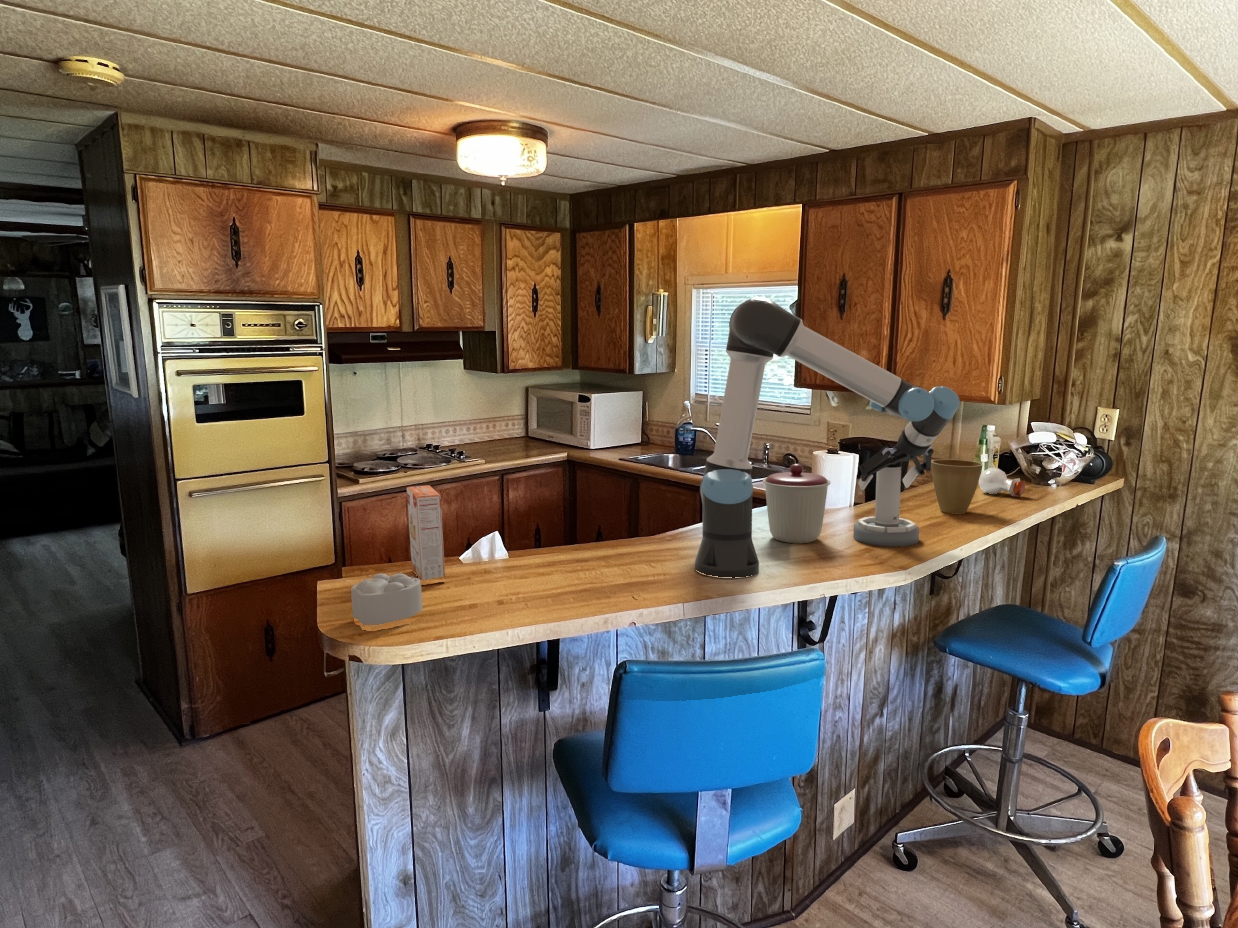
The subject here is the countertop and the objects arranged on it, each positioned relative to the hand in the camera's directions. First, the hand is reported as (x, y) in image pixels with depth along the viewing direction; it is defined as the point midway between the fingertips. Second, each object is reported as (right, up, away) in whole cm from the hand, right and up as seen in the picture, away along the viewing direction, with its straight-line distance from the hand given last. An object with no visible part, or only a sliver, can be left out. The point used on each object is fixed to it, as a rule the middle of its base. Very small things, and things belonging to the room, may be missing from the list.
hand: (883, 485), depth 211 cm
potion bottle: (+62, -5, +60) cm, 87 cm away
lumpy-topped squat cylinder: (-118, -25, -59) cm, 134 cm away
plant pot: (+34, -10, +33) cm, 49 cm away
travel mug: (+1, -12, -1) cm, 12 cm away
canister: (-24, -15, +1) cm, 28 cm away
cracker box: (-118, -21, -30) cm, 124 cm away
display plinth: (+1, -15, 0) cm, 15 cm away
